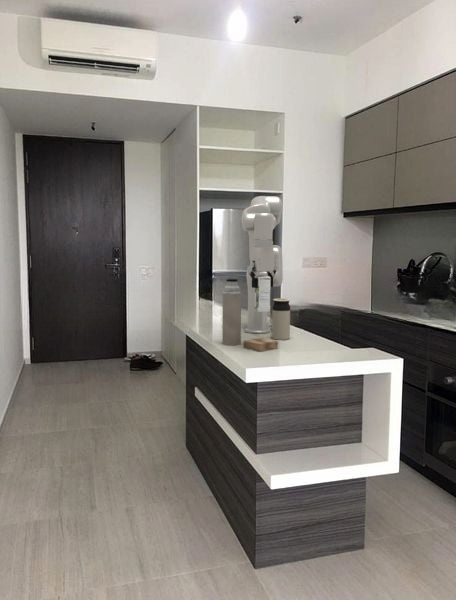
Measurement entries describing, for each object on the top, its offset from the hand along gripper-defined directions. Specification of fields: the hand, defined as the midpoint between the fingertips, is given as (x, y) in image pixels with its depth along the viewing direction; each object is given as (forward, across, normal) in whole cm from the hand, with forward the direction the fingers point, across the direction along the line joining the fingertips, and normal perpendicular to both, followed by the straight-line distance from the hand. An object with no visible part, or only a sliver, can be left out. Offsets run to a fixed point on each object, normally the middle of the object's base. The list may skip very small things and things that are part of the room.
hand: (262, 286), depth 218 cm
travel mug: (+26, -22, -10) cm, 35 cm away
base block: (+26, +1, 0) cm, 26 cm away
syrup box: (+10, 0, 0) cm, 10 cm away
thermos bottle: (+26, +3, -15) cm, 30 cm away
